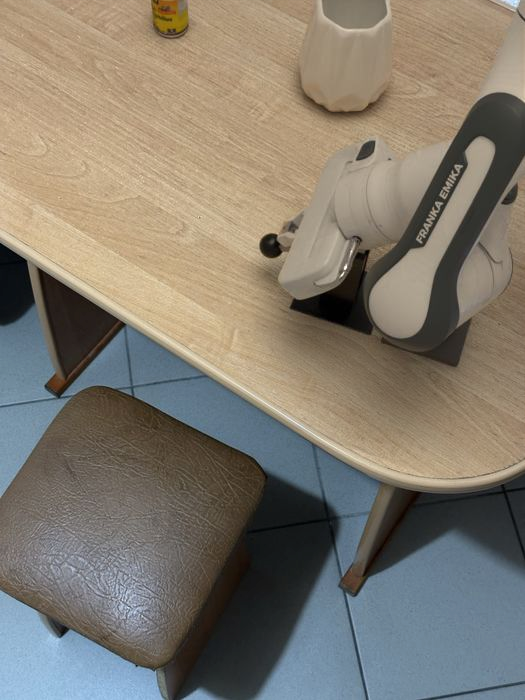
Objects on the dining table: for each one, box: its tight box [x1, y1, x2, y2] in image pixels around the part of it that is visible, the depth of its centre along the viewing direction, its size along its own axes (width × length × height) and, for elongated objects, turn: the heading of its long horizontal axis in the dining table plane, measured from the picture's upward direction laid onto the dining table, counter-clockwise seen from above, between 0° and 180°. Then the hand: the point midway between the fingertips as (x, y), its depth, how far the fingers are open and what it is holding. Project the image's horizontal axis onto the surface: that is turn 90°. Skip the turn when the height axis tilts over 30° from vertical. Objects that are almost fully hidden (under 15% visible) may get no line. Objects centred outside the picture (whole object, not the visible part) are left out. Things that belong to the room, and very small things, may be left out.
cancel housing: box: [380, 317, 472, 368], centre depth 108 cm, size 10×10×4 cm
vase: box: [298, 0, 395, 113], centre depth 121 cm, size 14×14×15 cm
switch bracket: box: [289, 249, 374, 336], centre depth 105 cm, size 11×9×14 cm
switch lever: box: [258, 232, 365, 260], centre depth 103 cm, size 14×3×3 cm, turn 70°
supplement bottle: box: [150, 0, 190, 39], centre depth 128 cm, size 6×6×10 cm
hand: (283, 234), depth 102 cm, fingers closed
